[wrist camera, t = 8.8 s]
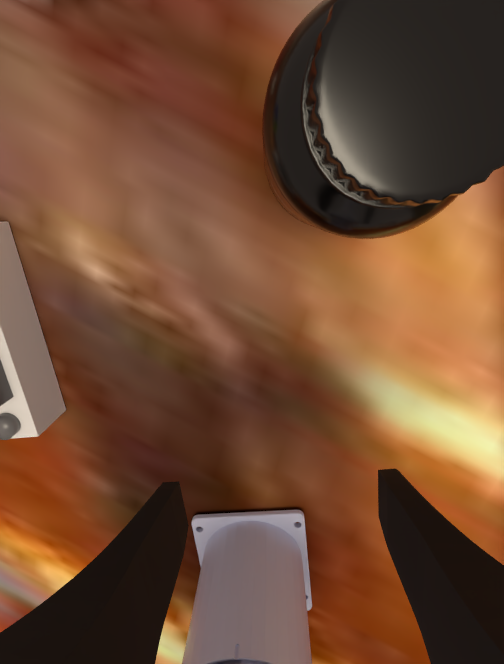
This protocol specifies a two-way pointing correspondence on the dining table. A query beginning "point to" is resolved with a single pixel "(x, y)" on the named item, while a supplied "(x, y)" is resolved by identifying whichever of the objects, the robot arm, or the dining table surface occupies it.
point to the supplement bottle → (385, 112)
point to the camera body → (23, 354)
